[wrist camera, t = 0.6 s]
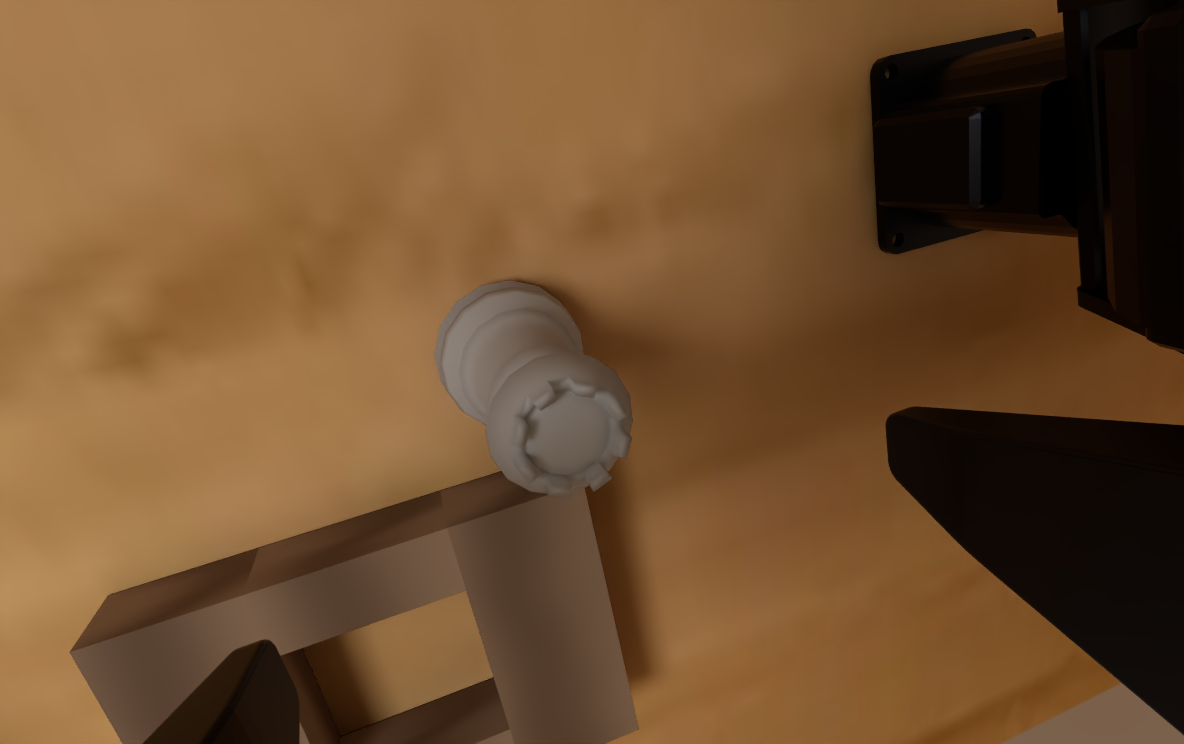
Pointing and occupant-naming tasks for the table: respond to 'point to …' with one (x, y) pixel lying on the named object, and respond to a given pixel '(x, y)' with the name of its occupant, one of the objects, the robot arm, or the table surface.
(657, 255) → the table surface
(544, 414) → the rook chess piece
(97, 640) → the socket board
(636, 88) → the table surface
